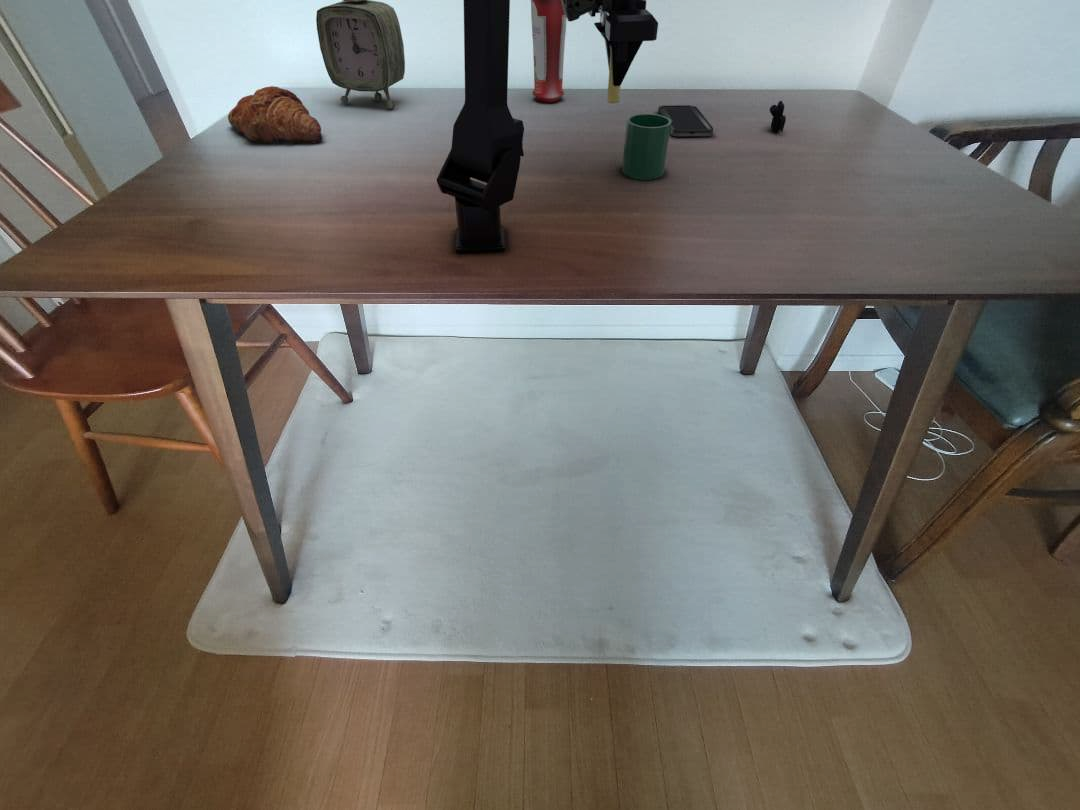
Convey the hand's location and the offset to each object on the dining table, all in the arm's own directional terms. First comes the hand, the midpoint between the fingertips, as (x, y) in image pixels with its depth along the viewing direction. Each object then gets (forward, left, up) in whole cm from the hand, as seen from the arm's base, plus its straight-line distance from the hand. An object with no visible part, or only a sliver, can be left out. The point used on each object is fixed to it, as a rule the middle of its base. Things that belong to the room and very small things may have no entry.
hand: (615, 83), depth 86 cm
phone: (+23, -19, -14) cm, 33 cm away
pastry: (+23, +59, -14) cm, 65 cm away
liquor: (+41, +6, -14) cm, 44 cm away
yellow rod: (0, 0, -3) cm, 3 cm away
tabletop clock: (+41, +43, -14) cm, 61 cm away
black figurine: (+18, -35, -14) cm, 42 cm away
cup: (0, -6, -13) cm, 15 cm away
